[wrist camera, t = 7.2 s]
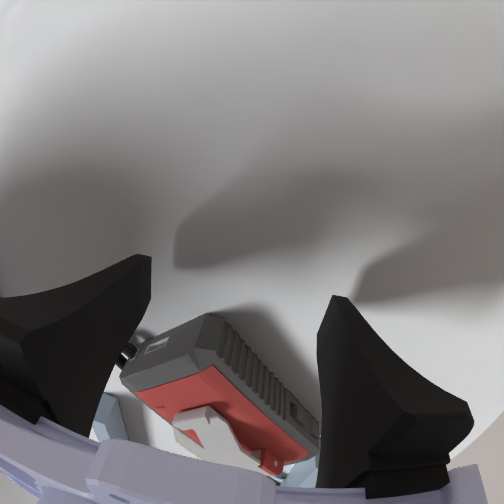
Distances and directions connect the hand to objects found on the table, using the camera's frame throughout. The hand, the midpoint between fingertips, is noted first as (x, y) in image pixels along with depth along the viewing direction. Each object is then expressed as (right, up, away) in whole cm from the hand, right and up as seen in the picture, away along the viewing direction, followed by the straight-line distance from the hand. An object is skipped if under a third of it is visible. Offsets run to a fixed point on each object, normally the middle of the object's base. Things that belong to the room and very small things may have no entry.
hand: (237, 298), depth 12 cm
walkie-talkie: (0, -9, +7) cm, 12 cm away
